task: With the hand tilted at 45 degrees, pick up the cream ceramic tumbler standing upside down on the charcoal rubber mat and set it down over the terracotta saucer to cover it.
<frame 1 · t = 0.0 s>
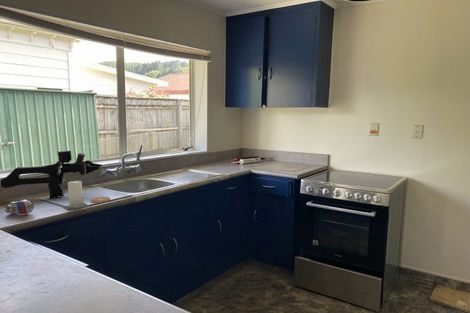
hand: (100, 166, 202), 16 cm above the worktop, tool horizontal, fingers open, 9 cm apart
rubber mat: (76, 207, 173), on the worktop
saucer: (100, 201, 185), on the worktop
tumbler: (76, 206, 173), resting on rubber mat
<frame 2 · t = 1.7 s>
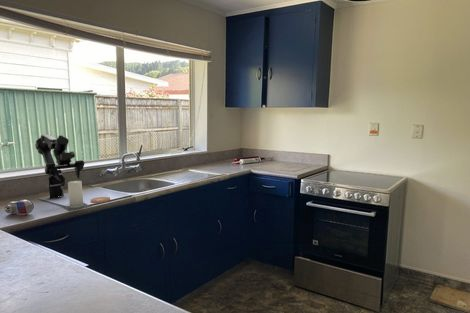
hand: (69, 179, 177), 14 cm above the worktop, tool tilted 45°, fingers open, 9 cm apart
nothing on the worktop moved.
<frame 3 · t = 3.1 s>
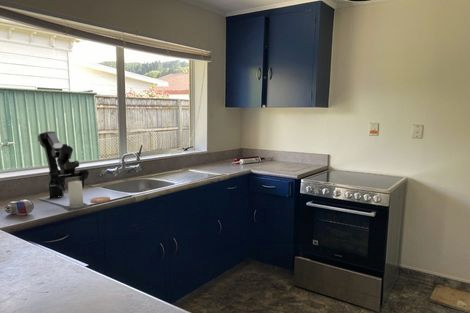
hand: (74, 189, 173), 9 cm above the worktop, tool tilted 45°, fingers open, 9 cm apart
nothing on the worktop moved.
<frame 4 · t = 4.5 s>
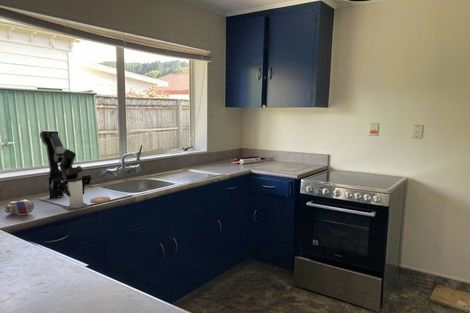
hand: (76, 195, 171), 7 cm above the worktop, tool tilted 45°, fingers closed on tumbler, 7 cm apart
tumbler: (76, 206, 173), resting on rubber mat, touching gripper
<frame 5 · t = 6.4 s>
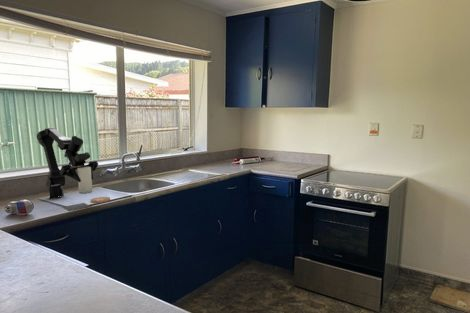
hand: (86, 180, 175), 13 cm above the worktop, tool tilted 45°, fingers closed on tumbler, 6 cm apart
tumbler: (85, 192, 177), point 7 cm above the worktop, touching gripper
when the fingers open (9 cm above the worktop, at t = 8.6 s): tumbler drops 1 cm, resting on saucer.
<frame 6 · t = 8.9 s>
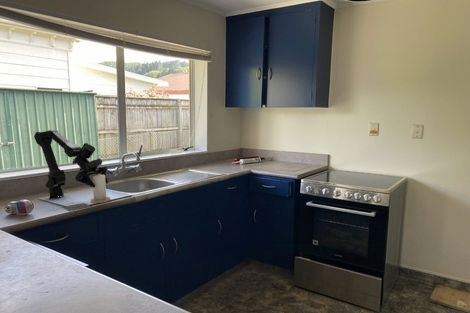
hand: (101, 185, 183), 9 cm above the worktop, tool tilted 45°, fingers open, 9 cm apart
tumbler: (100, 198, 185), point 1 cm above the worktop, touching saucer
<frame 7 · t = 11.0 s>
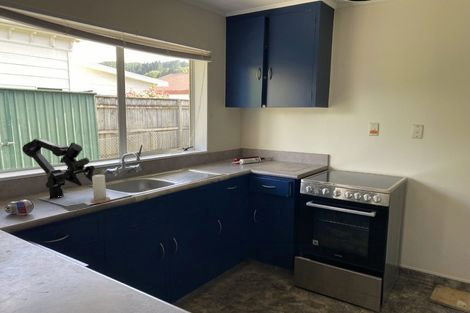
hand: (87, 183, 187), 9 cm above the worktop, tool tilted 45°, fingers open, 9 cm apart
nothing on the worktop moved.
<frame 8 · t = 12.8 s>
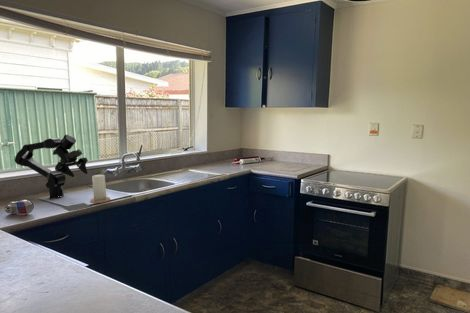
hand: (80, 175, 190), 14 cm above the worktop, tool tilted 45°, fingers open, 9 cm apart
nothing on the worktop moved.
at the end: tumbler 0.1 cm from the saucer (horizontally); tumbler tilted 0°; tumbler touching saucer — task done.
